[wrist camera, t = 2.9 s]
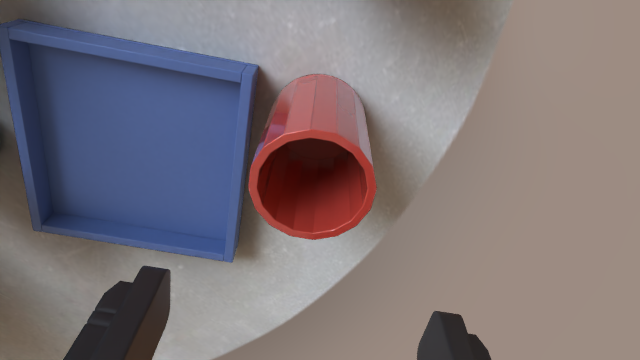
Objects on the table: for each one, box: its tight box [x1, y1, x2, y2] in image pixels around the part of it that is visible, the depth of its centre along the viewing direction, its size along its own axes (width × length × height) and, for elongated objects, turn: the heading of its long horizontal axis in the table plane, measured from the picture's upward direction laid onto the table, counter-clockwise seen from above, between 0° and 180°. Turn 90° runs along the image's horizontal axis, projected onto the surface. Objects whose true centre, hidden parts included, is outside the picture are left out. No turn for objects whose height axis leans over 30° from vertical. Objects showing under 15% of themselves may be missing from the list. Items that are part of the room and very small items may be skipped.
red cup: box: [248, 74, 377, 240], centre depth 23 cm, size 6×6×8 cm
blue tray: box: [0, 19, 259, 263], centre depth 26 cm, size 13×13×2 cm
